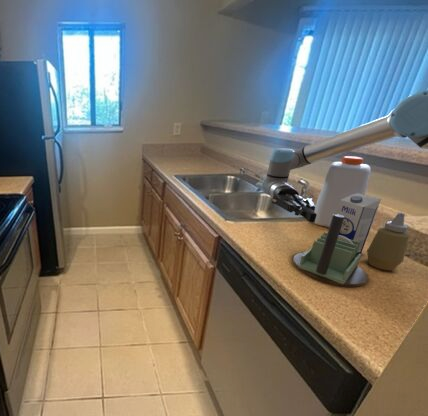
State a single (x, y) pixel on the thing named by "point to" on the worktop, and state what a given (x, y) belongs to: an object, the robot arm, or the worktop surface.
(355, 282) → the turntable
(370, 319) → the worktop surface
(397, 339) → the worktop surface
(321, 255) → the dish rack
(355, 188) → the plastic bottle
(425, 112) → the robot arm
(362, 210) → the milk carton
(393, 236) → the squeeze bottle
